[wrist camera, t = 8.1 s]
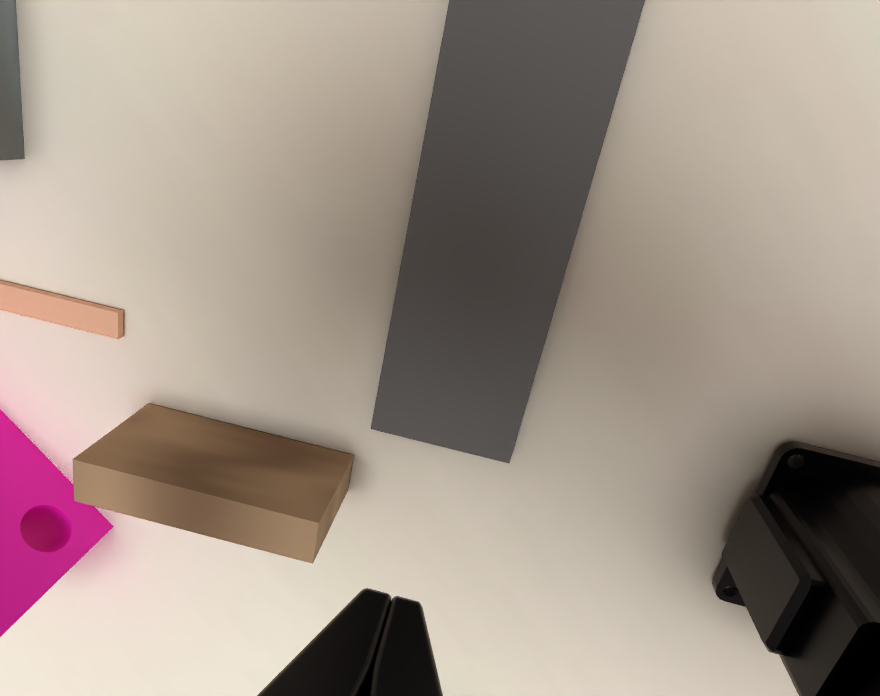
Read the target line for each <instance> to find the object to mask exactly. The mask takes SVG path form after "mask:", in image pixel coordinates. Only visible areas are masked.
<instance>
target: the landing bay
mask: <svg viewBox="0 0 880 696" xmlns="http://www.w3.org/2000/svg"><path fill="white" fill-rule="evenodd" d="M0 310H3V311H7V312H11V313H15V314H19V315H23V316H27V317H31V318H35V319H39V320H43V321H47V322H51V323H55V324H59V325H63V326H67V327H71V328H75V329H79V330H84V331H88V332H92V333H96V334H100V335H104V336H108V337H112V338H116V339H119V338H121V337H123V318H124V310H120V309H116V308H111V307H107V306H103V305H99V304H95V303H91V302H87V301H83V300H79V299H75V298H71V297H66V296H62V295H58V294H54V293H50V292H46V291H42V290H38V289H34V288H30V287H26V286H22V285H17V284H13V283H9V282H5V281H1V280H0Z"/></svg>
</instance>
